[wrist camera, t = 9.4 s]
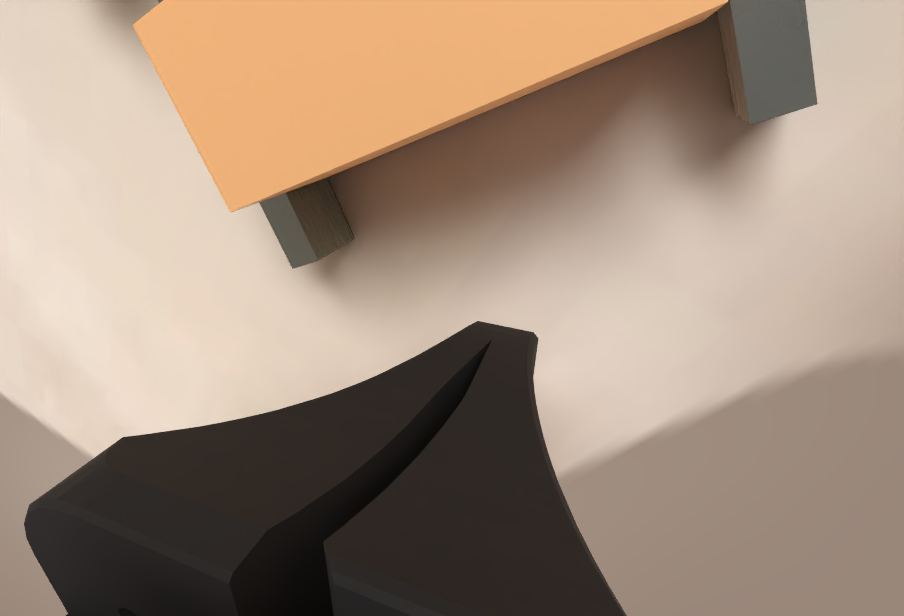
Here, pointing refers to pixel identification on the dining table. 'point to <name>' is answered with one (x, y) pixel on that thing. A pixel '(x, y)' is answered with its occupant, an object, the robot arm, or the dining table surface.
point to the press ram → (369, 72)
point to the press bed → (752, 88)
